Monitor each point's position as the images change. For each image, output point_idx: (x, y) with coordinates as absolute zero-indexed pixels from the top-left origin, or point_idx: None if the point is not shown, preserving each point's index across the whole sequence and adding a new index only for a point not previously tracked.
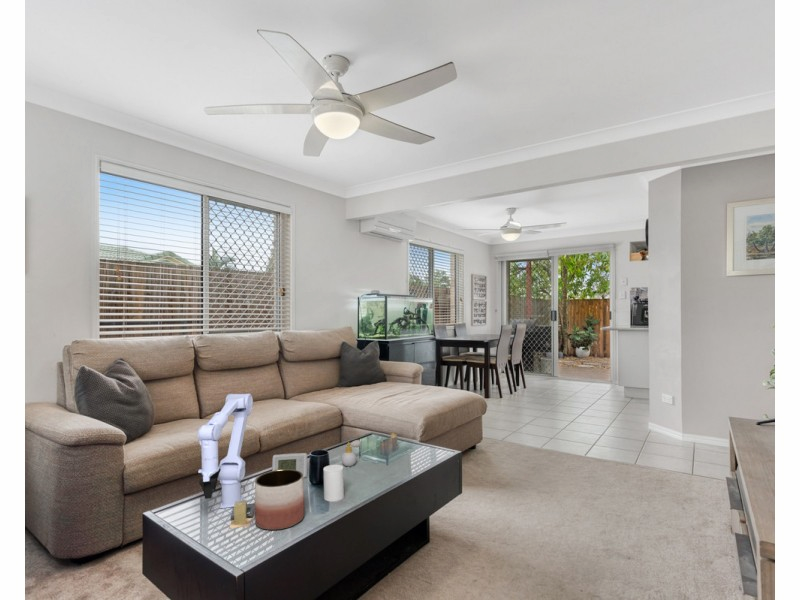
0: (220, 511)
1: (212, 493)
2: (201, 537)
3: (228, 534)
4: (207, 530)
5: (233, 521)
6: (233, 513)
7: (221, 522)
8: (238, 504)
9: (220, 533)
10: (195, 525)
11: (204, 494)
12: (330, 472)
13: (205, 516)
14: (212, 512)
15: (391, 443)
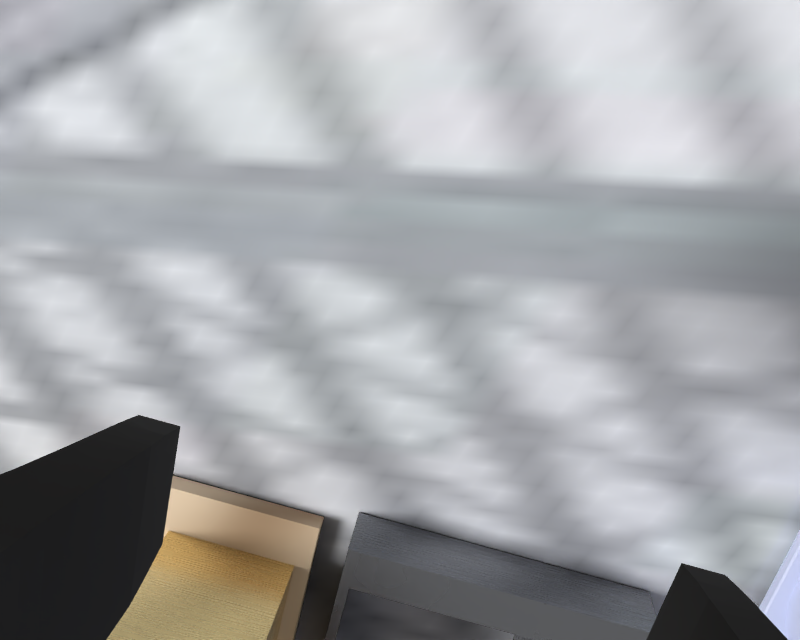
0: (736, 451)
1: (102, 632)
2: (67, 167)
3: (32, 443)
4: (230, 248)
5: (278, 540)
6: (410, 589)
7: (377, 419)
8: None
9: (88, 374)
10: (467, 107)
11: (49, 460)
12: None
13: (700, 257)
14: (779, 356)
15: None
